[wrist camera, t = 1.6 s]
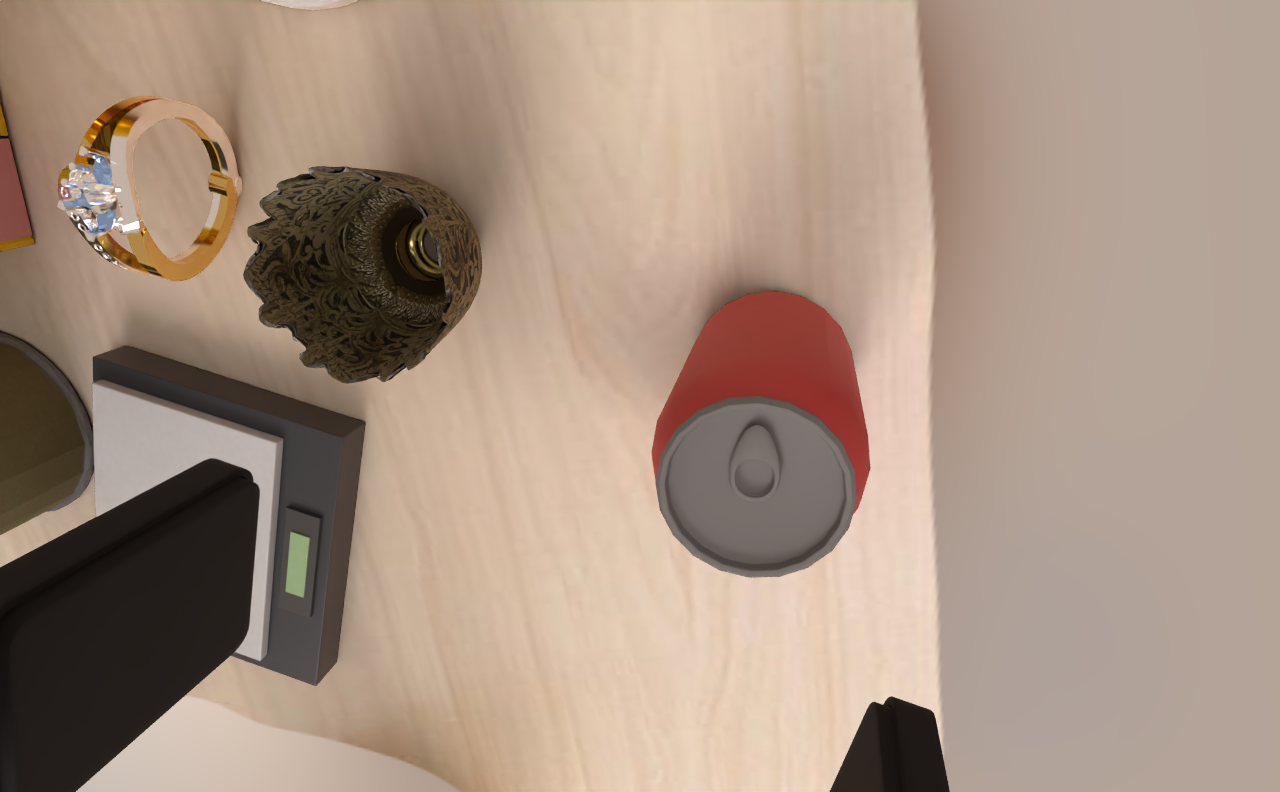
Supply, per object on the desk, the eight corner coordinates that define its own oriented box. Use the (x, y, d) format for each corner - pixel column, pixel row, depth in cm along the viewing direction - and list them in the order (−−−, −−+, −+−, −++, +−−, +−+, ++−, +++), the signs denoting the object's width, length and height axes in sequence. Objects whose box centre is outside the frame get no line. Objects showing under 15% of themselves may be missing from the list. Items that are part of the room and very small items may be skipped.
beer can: (859, 291, 31) (889, 388, 20) (844, 443, 33) (864, 607, 22) (695, 284, 32) (637, 373, 21) (691, 432, 35) (637, 582, 23)
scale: (125, 345, 39) (81, 360, 37) (366, 421, 38) (336, 442, 35) (127, 588, 45) (89, 615, 42) (336, 662, 43) (309, 694, 41)
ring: (202, 92, 34) (33, 86, 26) (269, 110, 33) (117, 109, 26) (201, 250, 36) (46, 285, 29) (263, 268, 36) (123, 307, 29)
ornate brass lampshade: (559, 258, 33) (488, 299, 26) (444, 360, 36) (350, 423, 28) (440, 116, 32) (330, 116, 25) (331, 231, 35) (203, 262, 27)
